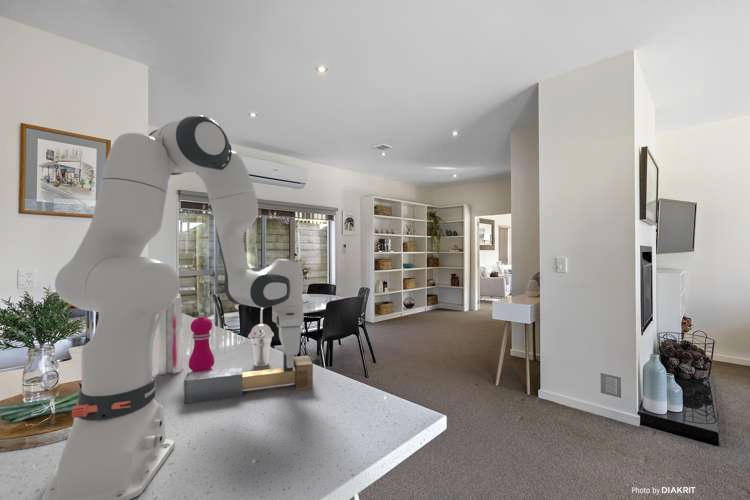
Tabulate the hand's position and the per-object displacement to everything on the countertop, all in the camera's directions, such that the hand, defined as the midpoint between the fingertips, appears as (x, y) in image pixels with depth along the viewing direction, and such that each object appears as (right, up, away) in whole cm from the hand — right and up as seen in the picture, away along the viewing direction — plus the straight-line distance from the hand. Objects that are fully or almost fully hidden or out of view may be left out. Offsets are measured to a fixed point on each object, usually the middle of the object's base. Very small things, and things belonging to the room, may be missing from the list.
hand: (288, 361), depth 102 cm
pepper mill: (-28, -7, +7) cm, 30 cm away
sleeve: (-18, -7, -7) cm, 21 cm away
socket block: (+4, -7, +2) cm, 8 cm away
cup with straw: (-14, -7, +19) cm, 24 cm away
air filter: (-41, -7, +11) cm, 43 cm away
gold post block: (-5, -6, -2) cm, 8 cm away
